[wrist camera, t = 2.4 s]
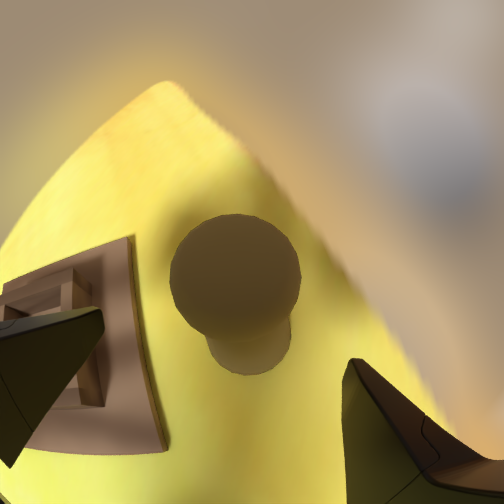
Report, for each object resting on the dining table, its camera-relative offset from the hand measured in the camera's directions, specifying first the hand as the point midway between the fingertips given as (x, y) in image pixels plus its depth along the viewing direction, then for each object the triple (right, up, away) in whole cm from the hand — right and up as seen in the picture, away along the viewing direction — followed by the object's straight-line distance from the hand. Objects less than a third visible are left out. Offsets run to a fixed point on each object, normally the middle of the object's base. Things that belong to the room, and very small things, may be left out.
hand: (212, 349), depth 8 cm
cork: (+1, -3, +10) cm, 11 cm away
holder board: (-16, -6, +9) cm, 19 cm away
